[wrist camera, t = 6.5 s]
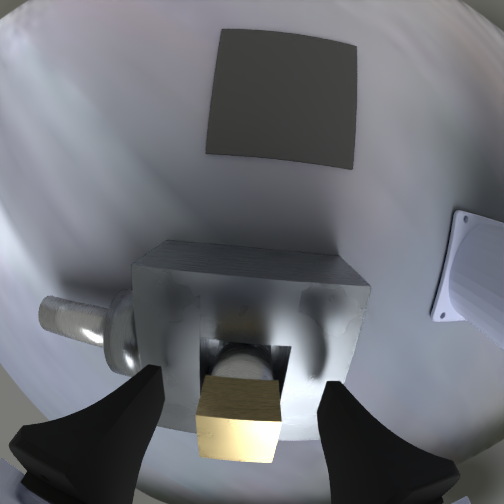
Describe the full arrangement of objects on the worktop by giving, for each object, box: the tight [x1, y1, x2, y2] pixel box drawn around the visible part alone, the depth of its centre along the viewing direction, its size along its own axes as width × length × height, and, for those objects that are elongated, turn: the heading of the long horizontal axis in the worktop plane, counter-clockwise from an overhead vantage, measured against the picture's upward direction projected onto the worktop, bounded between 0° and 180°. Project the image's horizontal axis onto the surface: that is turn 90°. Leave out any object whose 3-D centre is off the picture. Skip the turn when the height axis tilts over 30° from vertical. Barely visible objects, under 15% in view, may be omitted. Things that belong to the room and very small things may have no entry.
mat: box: [206, 29, 357, 170], centre depth 13 cm, size 8×8×1 cm
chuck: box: [39, 240, 371, 440], centre depth 14 cm, size 18×10×5 cm, turn 85°
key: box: [195, 340, 282, 462], centre depth 11 cm, size 3×3×7 cm
